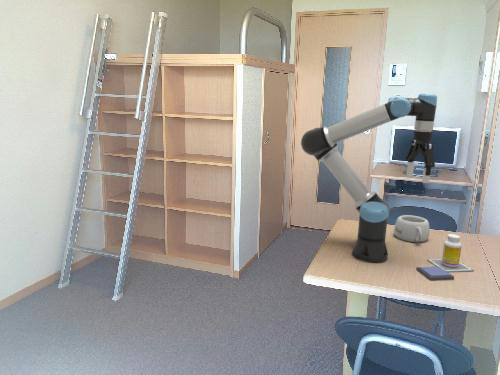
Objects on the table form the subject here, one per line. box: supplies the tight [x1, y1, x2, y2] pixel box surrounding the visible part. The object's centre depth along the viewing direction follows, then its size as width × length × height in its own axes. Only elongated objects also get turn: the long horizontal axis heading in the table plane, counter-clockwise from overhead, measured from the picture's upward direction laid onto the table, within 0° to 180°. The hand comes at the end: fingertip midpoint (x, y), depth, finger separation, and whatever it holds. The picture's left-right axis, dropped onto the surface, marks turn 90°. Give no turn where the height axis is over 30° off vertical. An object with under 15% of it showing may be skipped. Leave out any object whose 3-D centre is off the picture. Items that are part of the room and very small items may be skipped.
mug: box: [393, 214, 430, 243], centre depth 211 cm, size 21×17×10 cm
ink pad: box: [415, 265, 455, 281], centre depth 170 cm, size 10×10×2 cm
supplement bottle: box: [441, 233, 462, 267], centre depth 179 cm, size 7×7×13 cm
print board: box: [426, 258, 475, 273], centre depth 180 cm, size 13×13×1 cm
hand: (417, 179), depth 187 cm, fingers open, 13 cm apart
